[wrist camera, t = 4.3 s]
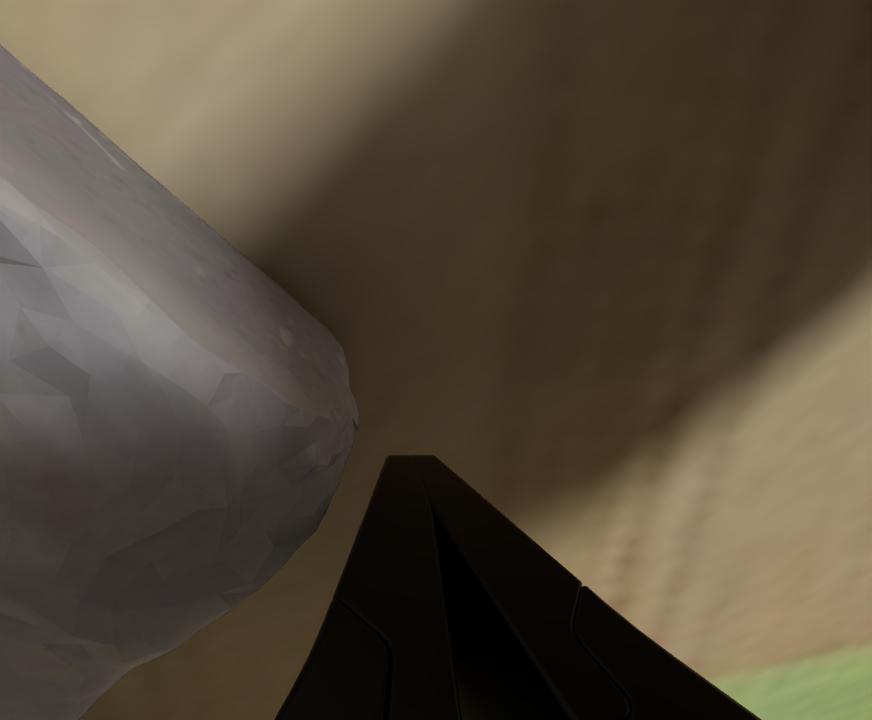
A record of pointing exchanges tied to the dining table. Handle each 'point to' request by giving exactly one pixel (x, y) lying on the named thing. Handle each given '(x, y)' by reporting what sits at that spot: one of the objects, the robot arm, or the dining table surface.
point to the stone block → (138, 413)
